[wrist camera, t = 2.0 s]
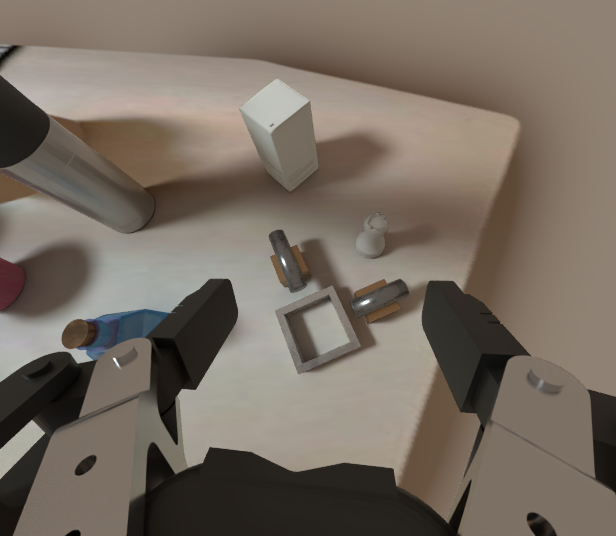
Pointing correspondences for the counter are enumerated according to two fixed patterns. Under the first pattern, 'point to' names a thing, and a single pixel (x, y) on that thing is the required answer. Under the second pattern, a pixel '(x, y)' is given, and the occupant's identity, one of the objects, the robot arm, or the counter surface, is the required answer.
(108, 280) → the counter surface
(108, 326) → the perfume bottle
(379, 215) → the rook chess piece
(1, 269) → the plant pot
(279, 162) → the supplement box
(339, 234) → the counter surface
